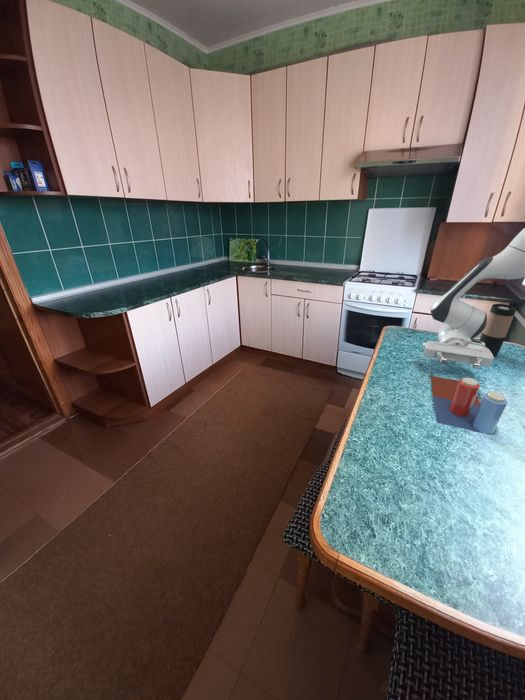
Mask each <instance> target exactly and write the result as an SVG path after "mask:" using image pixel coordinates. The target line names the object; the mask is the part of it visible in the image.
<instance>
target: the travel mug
mask: <svg viewBox="0 0 525 700" xmlns="http://www.w3.org/2000/svg"><path fill="white" fill-rule="evenodd" d="M516 311H517V308H514V307H513V306H512V305H509V304H505V303H504V304H503V303H493V304H492V305H491V307H490V309H489V312H488V315H487V324H486V327H485V328H484V330H483V331H482V332H481V333H480V334H481V335H480V338H479V341H480V342H484V343H485V347H486V348H488V349H489V350H490V351H491V353H492V354H493V356H494V358H496V357H497V356H498V355H499V352H500V350H501V348H502V346H503V344H504V341H505V340H506V337H507V335H508V333H509V329H510V327H511V324H512V322H513V319H514V316H515V314H516Z"/></svg>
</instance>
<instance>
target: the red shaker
mask: <svg viewBox="0 0 525 700" xmlns="http://www.w3.org/2000/svg"><path fill="white" fill-rule="evenodd" d="M458 381H459V382H458V385H457V388H456V391H455V394H454V397H453V399H452V402H451V405H450V408H449V409H450V411H451V412H452V413H453V414H455V415H457V416H461V417H466V416H468V415H469V413H470V411H471V408H472V406H473V403H474V400H475V398H476V395H477V396H478V393H479V390H480V388H481V384H480V383H479V382H478V381H477V380H476V379H475V378H471V377H463V378H460V379H459V380H458Z"/></svg>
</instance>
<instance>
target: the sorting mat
mask: <svg viewBox="0 0 525 700" xmlns="http://www.w3.org/2000/svg"><path fill="white" fill-rule="evenodd" d="M458 382H459V380H457V379H451V378H446V377H441V376H437V375H436V376H435V375H430V384H431V391H432V397H433V398H432V399H433V405H434V406H433V407H434V414H435V421H436V423H437V424H442V425H446V426H450V427H455V428H458V429H463V430H467V431H472V432H475V433H481V434H485V433H482V432H479V431H477V430H476V429H475V428H474V427H473V426H472V423H473V421H474V418H475V416H476V413H477V411H478V408H479V406H480V403H481V401H480V400H479V399H480V398H479V397H478V394H477V395H476V398H475V400H474V403H473V406H472V408H471V411H470V413H469V415H468V416H466V417H461V416H457V415H455V414H453V413H452V412H451V411H450V409H449V408H450V405H451V402H452V399H453V397H454V394H455V391H456V388H457V385H458ZM485 435H486V434H485ZM487 435H489V436H492V434H487Z"/></svg>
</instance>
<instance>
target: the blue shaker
mask: <svg viewBox="0 0 525 700" xmlns="http://www.w3.org/2000/svg"><path fill="white" fill-rule="evenodd" d="M507 405H508V400H507V399H506V397H505V396H504V394H502V393H499V392H496V391H489V392H486V393H484V394H483V396H482V399H481V401H480V406H479V408H478V411H477V413H476V416H475V418H474V421H473V423H472V426H473V427H474V428H475V429H476V430H477V431H479V432H478V433H480V432H482V433H481V434H484V433H485V435H488V434H491V435H492V434H494V432H495V431H496V428H497V426H498V424H499V422H500V420H501V417H502V415H503V413H504V411H505V409H506V407H507Z"/></svg>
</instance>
